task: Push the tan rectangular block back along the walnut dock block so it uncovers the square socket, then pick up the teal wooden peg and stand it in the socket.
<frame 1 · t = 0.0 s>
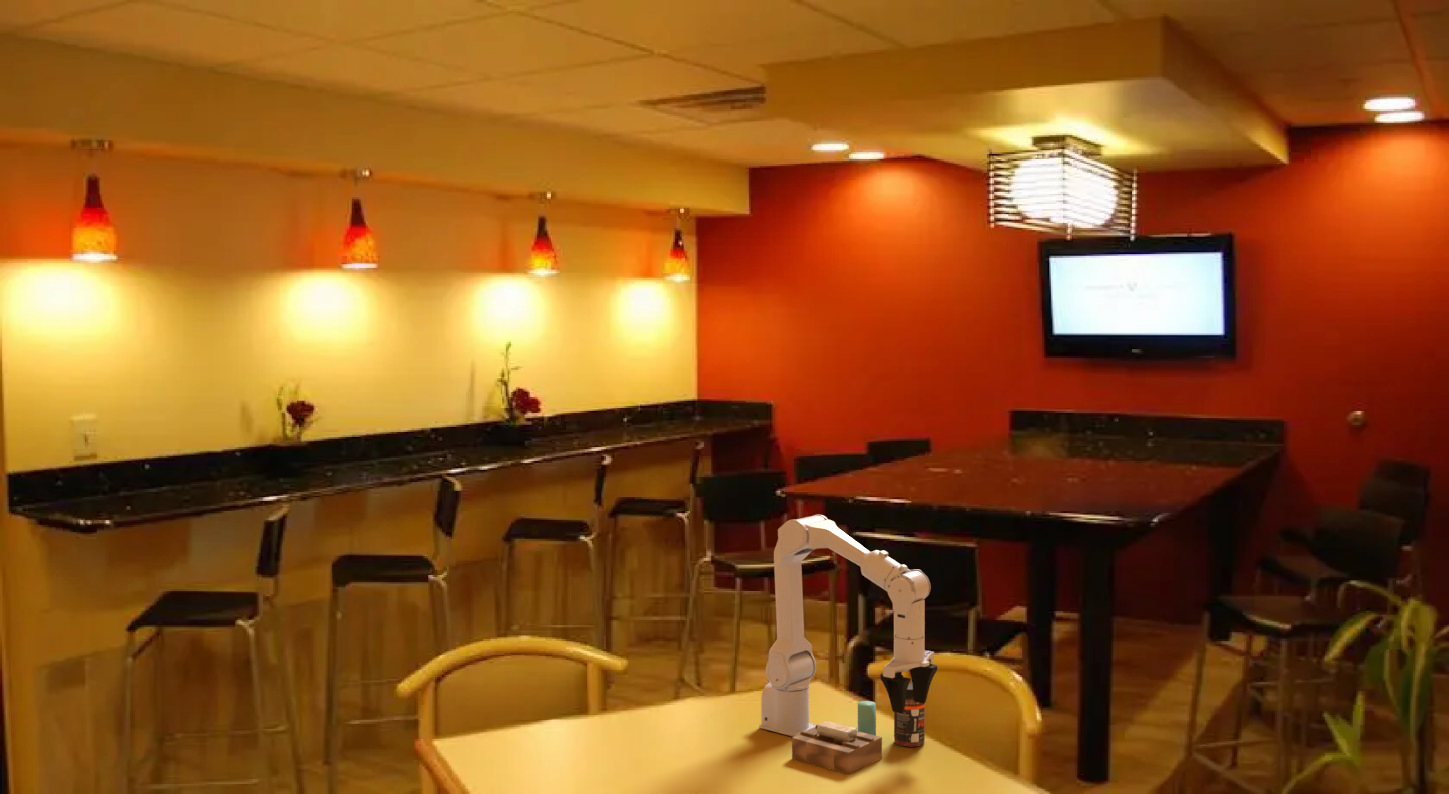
hand: (909, 707, 235), 10 cm above the table, tool pointing down, fingers open, 7 cm apart
supplement bottle: (909, 744, 245), on the table
peg: (866, 738, 248), on the table
dock: (837, 758, 237), on the table
tan rectangular block: (836, 731, 237), point 5 cm above the table, slide at 0.0 cm
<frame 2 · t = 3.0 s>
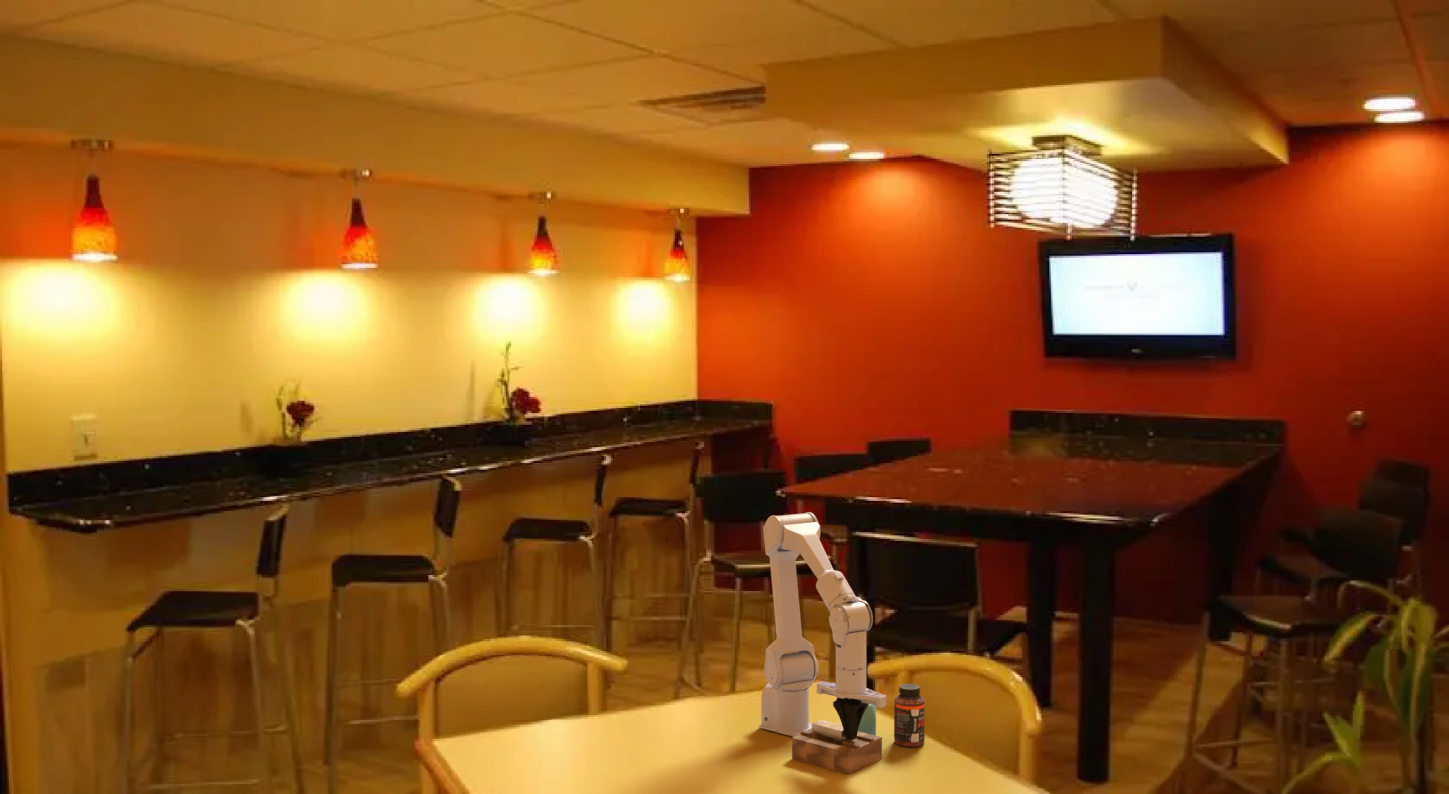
hand: (851, 737, 235), 5 cm above the table, tool pointing down, fingers closed
tan rectangular block: (831, 729, 237), point 5 cm above the table, slide at 1.3 cm, touching gripper
everything else where it was.
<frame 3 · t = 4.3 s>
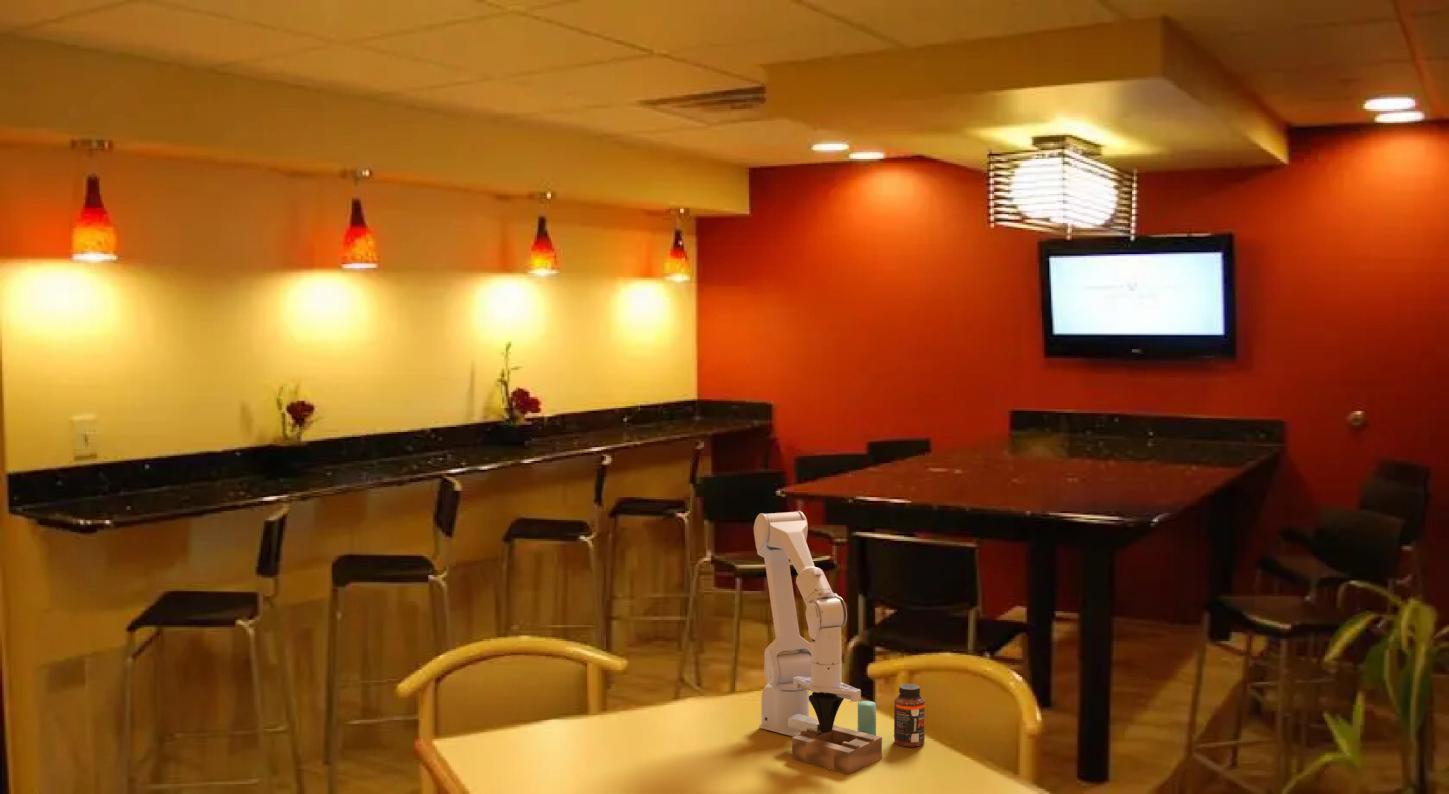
hand: (826, 731, 238), 5 cm above the table, tool pointing down, fingers closed
tan rectangular block: (807, 723, 241), point 5 cm above the table, slide at 7.0 cm, touching gripper
everything else where it was.
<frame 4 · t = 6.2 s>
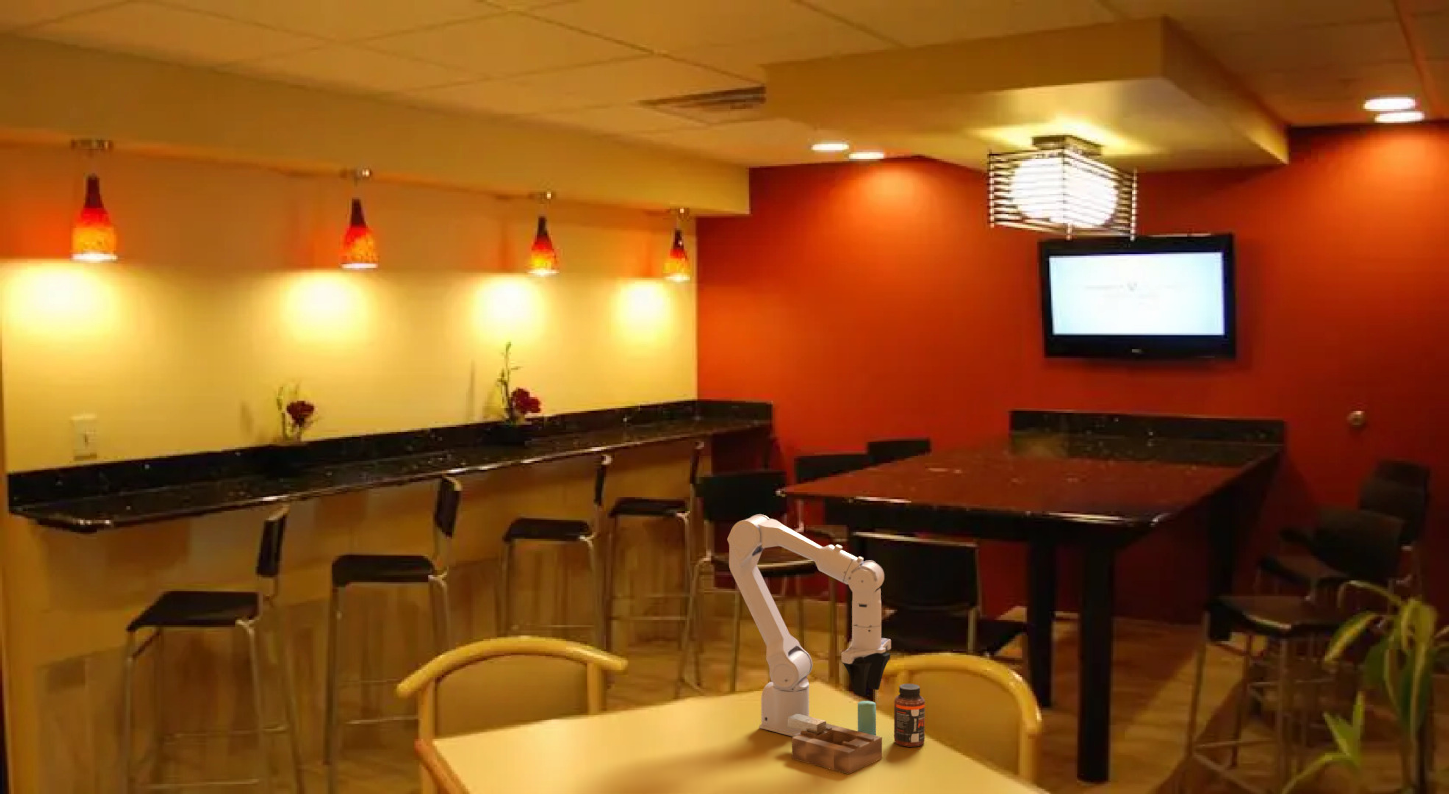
hand: (866, 691, 248), 9 cm above the table, tool pointing down, fingers open, 4 cm apart
tan rectangular block: (806, 723, 241), point 5 cm above the table, slide at 7.1 cm
everything else where it was.
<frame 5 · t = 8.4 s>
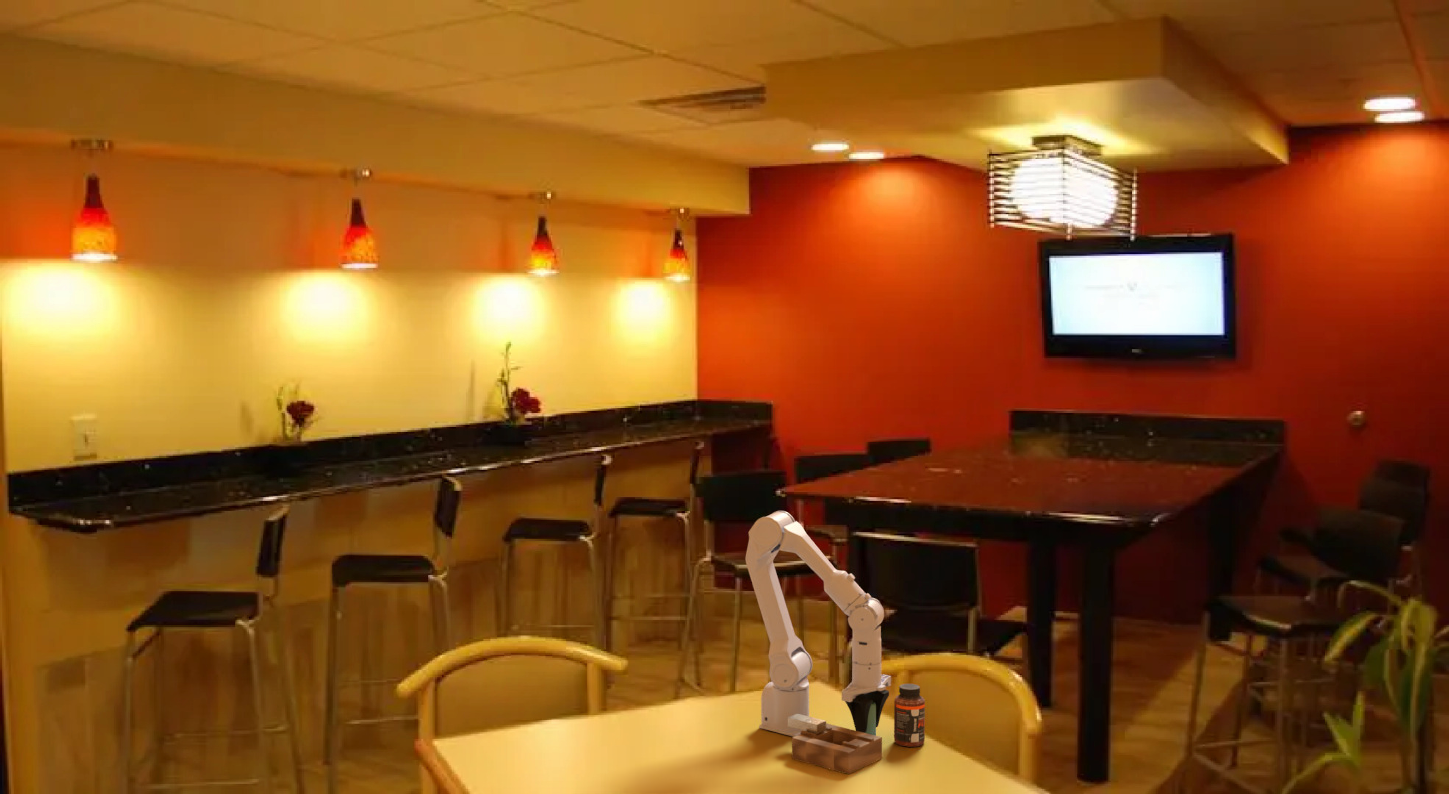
hand: (866, 728, 248), 2 cm above the table, tool pointing down, fingers closed on peg, 4 cm apart
peg: (866, 738, 248), on the table, touching gripper
everything else where it was.
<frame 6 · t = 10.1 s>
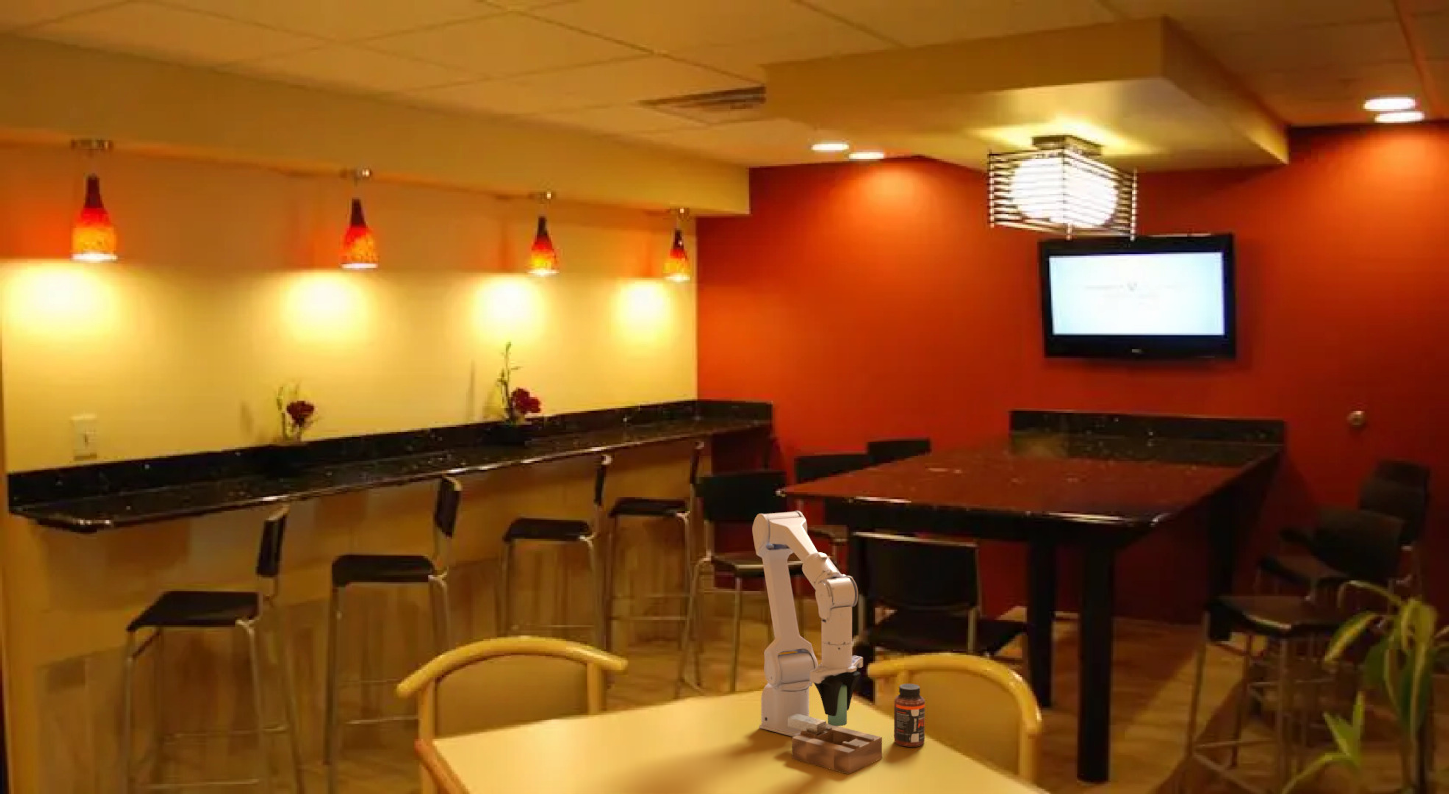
hand: (836, 712, 236), 9 cm above the table, tool pointing down, fingers closed on peg, 4 cm apart
peg: (837, 723, 236), point 7 cm above the table, touching gripper
everything else where it was.
when the fingers open (4 cm above the table, at t = 11.9 s): peg drops 2 cm, resting on dock.
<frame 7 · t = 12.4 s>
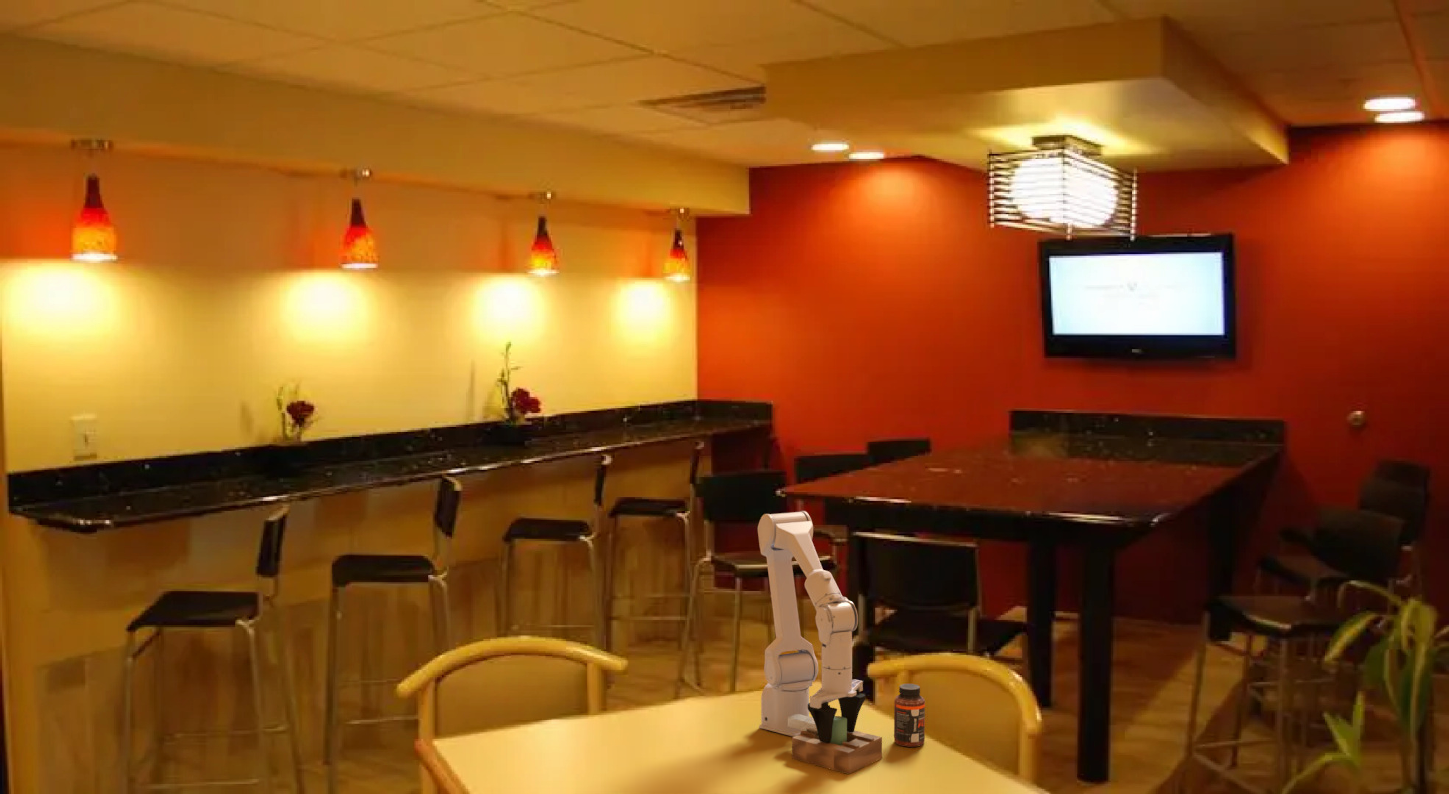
hand: (836, 736, 237), 4 cm above the table, tool pointing down, fingers open, 7 cm apart
peg: (836, 755, 237), point 1 cm above the table, touching dock
everything else where it was.
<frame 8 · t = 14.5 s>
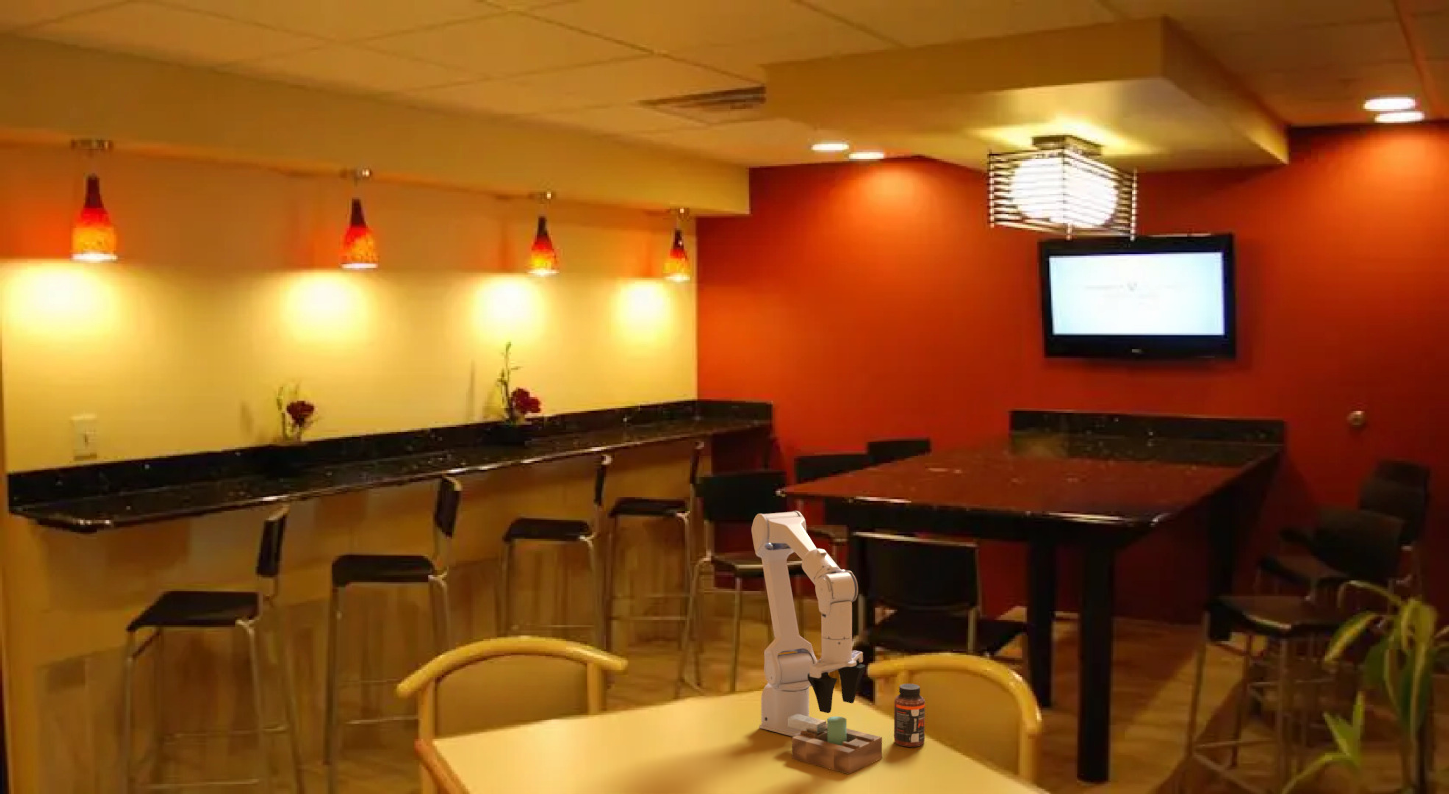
hand: (836, 707, 236), 10 cm above the table, tool pointing down, fingers open, 7 cm apart
nothing on the table moved.
at the end: peg 0.1 cm off-centre on the dock, point 0.5 cm above the dock's base; peg tilted 0°; tan rectangular block slide at 7.1 cm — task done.
